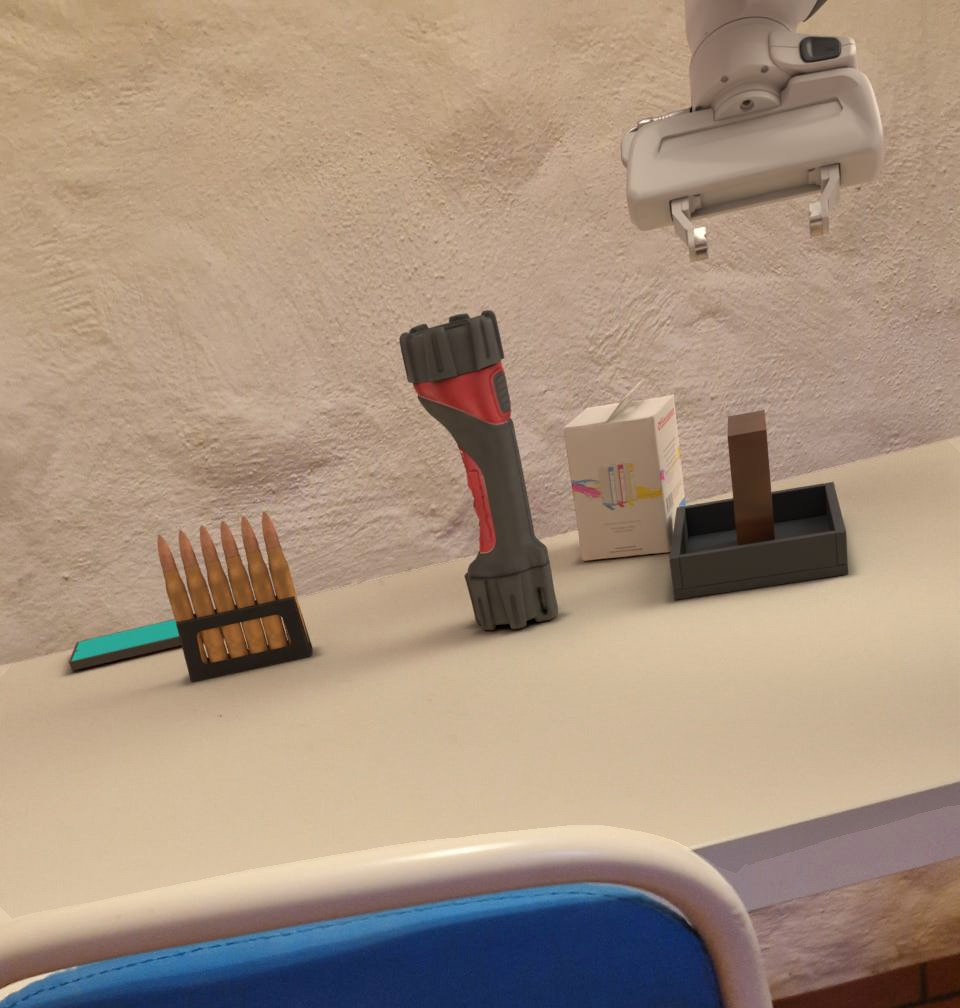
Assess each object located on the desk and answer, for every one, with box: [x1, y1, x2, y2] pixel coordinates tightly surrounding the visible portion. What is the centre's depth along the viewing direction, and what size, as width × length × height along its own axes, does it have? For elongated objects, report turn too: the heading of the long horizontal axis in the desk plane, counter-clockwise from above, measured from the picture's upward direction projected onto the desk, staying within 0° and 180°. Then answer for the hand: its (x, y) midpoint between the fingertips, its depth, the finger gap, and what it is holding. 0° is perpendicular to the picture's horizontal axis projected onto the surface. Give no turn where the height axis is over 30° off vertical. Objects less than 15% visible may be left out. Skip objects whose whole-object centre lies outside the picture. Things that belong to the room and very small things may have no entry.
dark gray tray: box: [669, 481, 849, 601], centre depth 117 cm, size 14×17×3 cm
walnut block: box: [727, 409, 775, 546], centre depth 115 cm, size 3×8×10 cm, turn 171°
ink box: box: [562, 378, 687, 562], centre depth 126 cm, size 9×8×13 cm
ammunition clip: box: [156, 510, 314, 683], centre depth 117 cm, size 11×2×12 cm, turn 94°
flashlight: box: [398, 309, 559, 631], centre depth 111 cm, size 8×8×23 cm
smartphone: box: [68, 618, 223, 671], centre depth 132 cm, size 7×1×15 cm
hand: (758, 242), depth 111 cm, fingers open, 8 cm apart
